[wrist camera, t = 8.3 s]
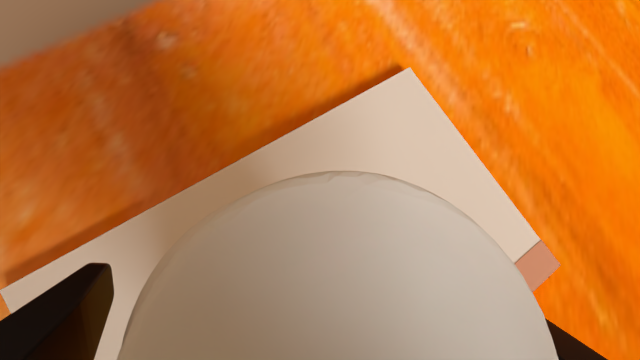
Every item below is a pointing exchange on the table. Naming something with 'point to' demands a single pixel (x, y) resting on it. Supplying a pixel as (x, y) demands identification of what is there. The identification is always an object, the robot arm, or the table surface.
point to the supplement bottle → (337, 281)
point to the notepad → (303, 158)
